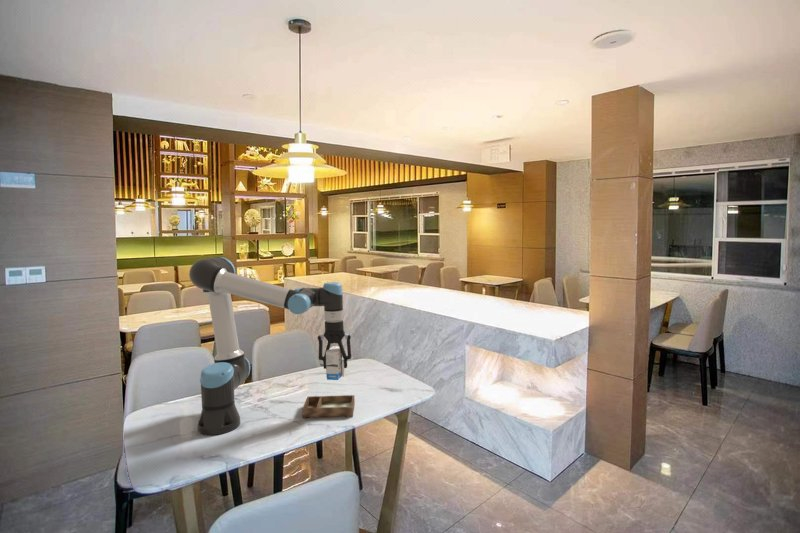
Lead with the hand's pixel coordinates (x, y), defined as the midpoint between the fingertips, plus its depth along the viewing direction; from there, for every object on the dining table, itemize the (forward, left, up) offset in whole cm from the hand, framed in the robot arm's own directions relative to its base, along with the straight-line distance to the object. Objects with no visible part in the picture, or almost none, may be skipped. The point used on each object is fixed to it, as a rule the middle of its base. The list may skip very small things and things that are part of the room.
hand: (335, 375), depth 180 cm
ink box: (0, 0, -1) cm, 1 cm away
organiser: (-3, +1, -15) cm, 15 cm away
